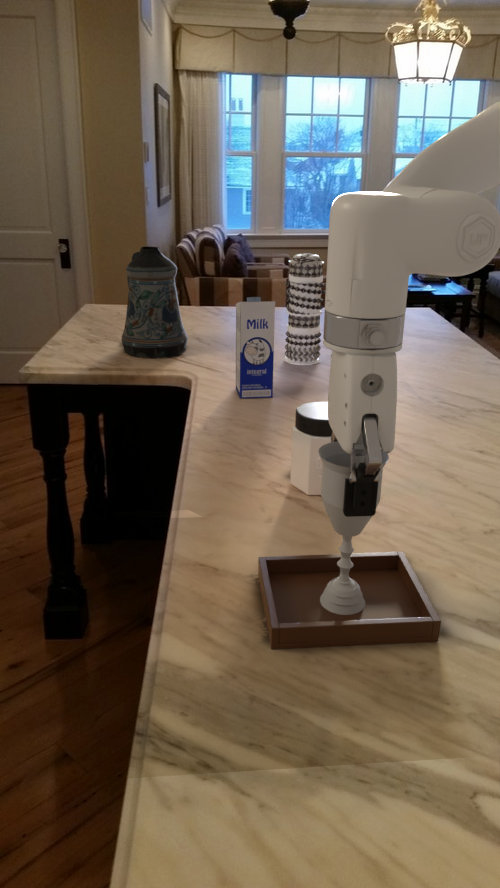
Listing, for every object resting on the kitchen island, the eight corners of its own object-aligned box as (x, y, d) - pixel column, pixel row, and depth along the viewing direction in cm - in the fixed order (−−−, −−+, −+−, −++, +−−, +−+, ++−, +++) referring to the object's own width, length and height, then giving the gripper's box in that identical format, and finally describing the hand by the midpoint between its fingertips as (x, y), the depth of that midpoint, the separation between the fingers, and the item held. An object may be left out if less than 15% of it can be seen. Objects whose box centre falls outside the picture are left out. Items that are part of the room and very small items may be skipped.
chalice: (298, 604, 78) (305, 456, 71) (328, 576, 83) (337, 435, 76) (358, 628, 74) (371, 474, 67) (385, 597, 80) (400, 451, 72)
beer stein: (162, 362, 168) (158, 254, 158) (99, 351, 177) (91, 248, 167) (200, 347, 181) (198, 247, 171) (140, 337, 190) (135, 241, 180)
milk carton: (239, 398, 144) (240, 301, 136) (234, 388, 150) (235, 294, 142) (273, 397, 145) (276, 300, 137) (267, 387, 151) (269, 294, 144)
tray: (401, 569, 86) (403, 551, 85) (438, 641, 74) (441, 620, 73) (258, 575, 85) (258, 556, 84) (271, 649, 72) (271, 628, 71)
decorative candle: (288, 366, 166) (292, 258, 156) (279, 356, 174) (282, 252, 164) (325, 365, 168) (332, 257, 158) (314, 354, 176) (319, 251, 166)
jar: (292, 496, 104) (295, 420, 99) (287, 473, 111) (290, 401, 107) (353, 496, 104) (359, 420, 99) (344, 472, 112) (349, 401, 107)
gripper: (431, 354, 59) (410, 538, 66) (378, 310, 75) (365, 462, 82) (343, 355, 59) (331, 541, 65) (309, 311, 75) (302, 464, 81)
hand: (350, 496), depth 74 cm, fingers closed on chalice, 6 cm apart
